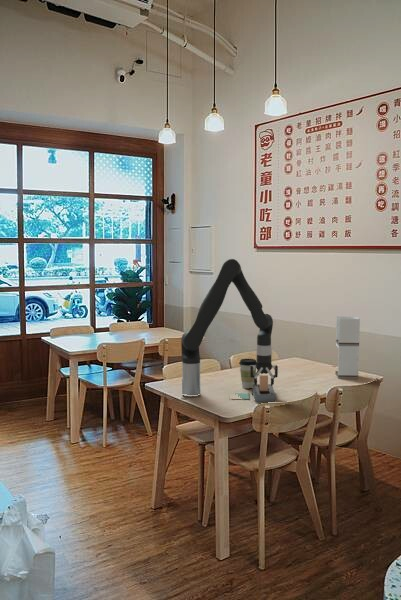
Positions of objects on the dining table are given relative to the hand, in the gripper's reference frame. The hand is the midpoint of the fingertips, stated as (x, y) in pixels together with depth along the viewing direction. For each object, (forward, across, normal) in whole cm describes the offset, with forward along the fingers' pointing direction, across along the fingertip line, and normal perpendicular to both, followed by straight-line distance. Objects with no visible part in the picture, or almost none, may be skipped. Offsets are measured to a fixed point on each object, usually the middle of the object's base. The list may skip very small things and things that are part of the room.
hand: (263, 385), depth 271 cm
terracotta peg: (+6, 0, 0) cm, 6 cm away
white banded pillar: (+6, -52, -44) cm, 68 cm away
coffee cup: (+6, +7, -19) cm, 21 cm away
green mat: (+6, +13, 0) cm, 14 cm away
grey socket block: (+6, 0, 0) cm, 6 cm away
